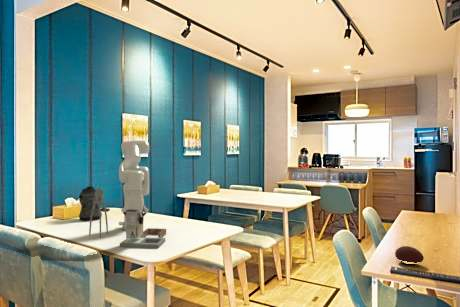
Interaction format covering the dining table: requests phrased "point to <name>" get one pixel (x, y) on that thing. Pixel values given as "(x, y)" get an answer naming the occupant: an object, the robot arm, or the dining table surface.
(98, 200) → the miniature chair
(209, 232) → the dining table surface
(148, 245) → the board
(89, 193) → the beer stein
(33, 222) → the dining table surface
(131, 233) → the coffee box
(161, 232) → the stall
